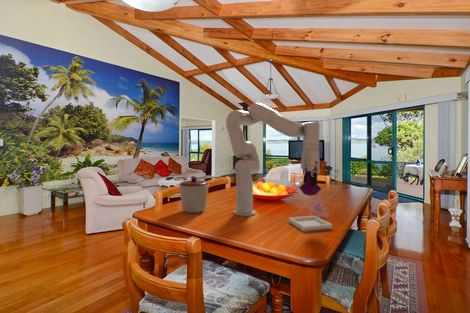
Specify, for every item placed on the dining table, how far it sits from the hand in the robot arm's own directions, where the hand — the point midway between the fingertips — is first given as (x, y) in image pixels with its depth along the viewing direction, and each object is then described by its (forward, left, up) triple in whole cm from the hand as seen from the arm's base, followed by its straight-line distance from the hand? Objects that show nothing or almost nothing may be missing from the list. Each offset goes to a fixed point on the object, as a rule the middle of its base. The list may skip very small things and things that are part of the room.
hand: (310, 183), depth 127 cm
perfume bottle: (0, 0, -6) cm, 6 cm away
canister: (-41, -53, -21) cm, 70 cm away
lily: (-13, +14, -21) cm, 29 cm away
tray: (0, 0, -21) cm, 21 cm away
